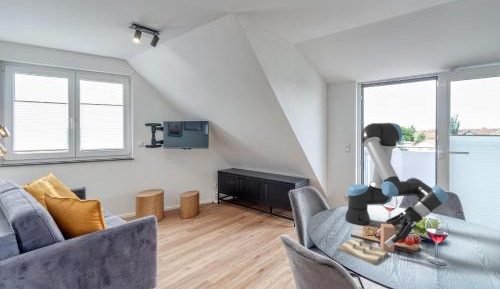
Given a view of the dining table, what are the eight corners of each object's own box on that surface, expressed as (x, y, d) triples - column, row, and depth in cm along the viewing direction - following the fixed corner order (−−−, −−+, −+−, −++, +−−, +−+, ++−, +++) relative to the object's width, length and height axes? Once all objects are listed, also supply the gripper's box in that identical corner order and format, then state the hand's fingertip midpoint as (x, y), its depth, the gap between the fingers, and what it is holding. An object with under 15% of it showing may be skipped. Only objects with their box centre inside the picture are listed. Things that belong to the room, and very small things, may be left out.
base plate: (352, 241, 134) (353, 235, 134) (387, 254, 120) (388, 247, 120) (337, 249, 126) (337, 242, 126) (373, 264, 112) (373, 256, 111)
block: (380, 246, 129) (380, 223, 128) (390, 246, 128) (391, 224, 127) (383, 250, 124) (383, 227, 123) (394, 251, 123) (394, 227, 122)
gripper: (435, 227, 109) (396, 257, 114) (412, 209, 134) (381, 234, 138) (422, 214, 110) (384, 244, 114) (401, 199, 135) (370, 224, 139)
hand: (382, 239), depth 126 cm, fingers open, 13 cm apart
